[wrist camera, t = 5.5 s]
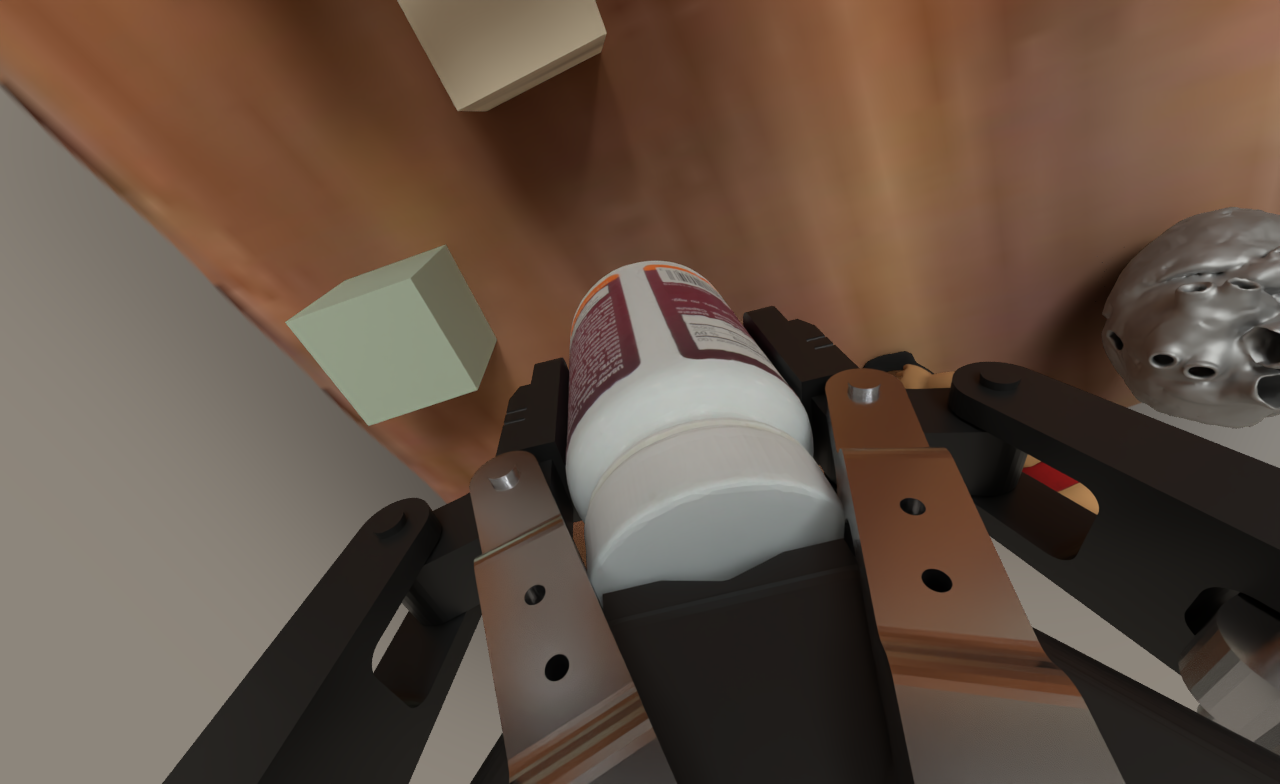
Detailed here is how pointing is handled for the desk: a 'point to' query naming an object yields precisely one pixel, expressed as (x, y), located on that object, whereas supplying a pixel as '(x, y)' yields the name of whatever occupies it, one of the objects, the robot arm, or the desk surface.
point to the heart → (1202, 319)
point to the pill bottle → (684, 437)
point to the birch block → (503, 44)
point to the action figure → (924, 379)
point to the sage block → (399, 336)
